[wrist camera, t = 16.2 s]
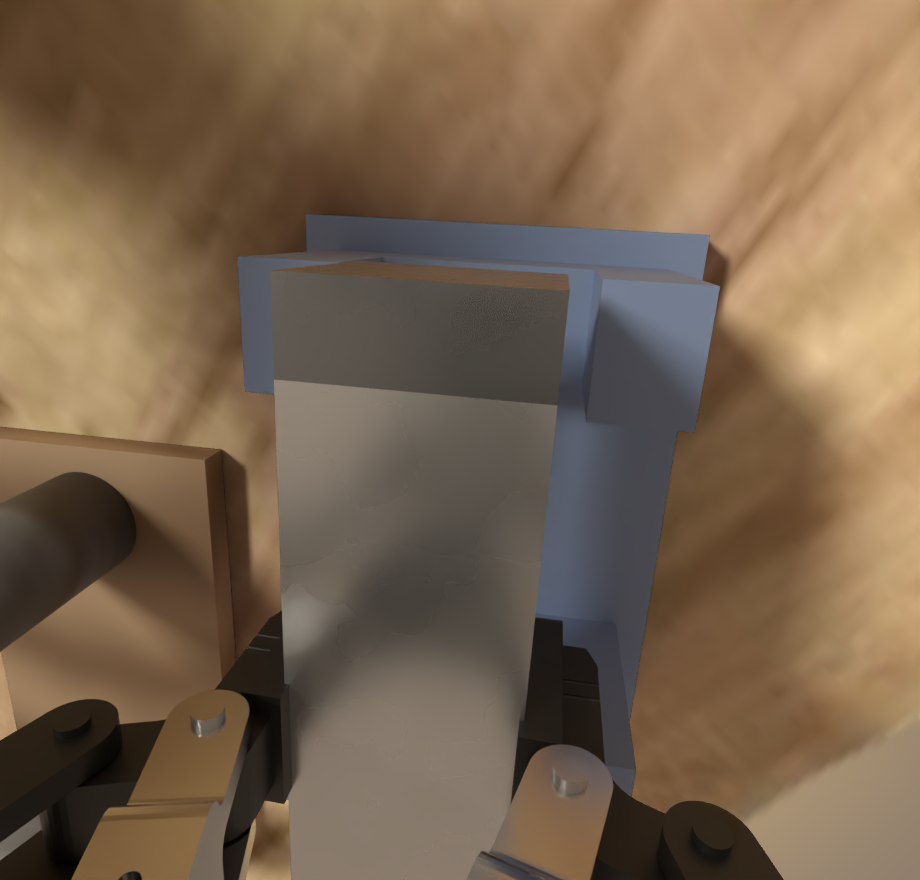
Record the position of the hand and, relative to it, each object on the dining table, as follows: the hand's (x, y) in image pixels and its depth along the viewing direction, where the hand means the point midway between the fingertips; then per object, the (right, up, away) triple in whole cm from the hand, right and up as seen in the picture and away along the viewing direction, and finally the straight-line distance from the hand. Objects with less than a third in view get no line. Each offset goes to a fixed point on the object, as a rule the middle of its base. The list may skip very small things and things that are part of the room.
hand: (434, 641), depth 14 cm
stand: (-14, -4, +14) cm, 20 cm away
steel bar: (0, 0, +1) cm, 1 cm away
